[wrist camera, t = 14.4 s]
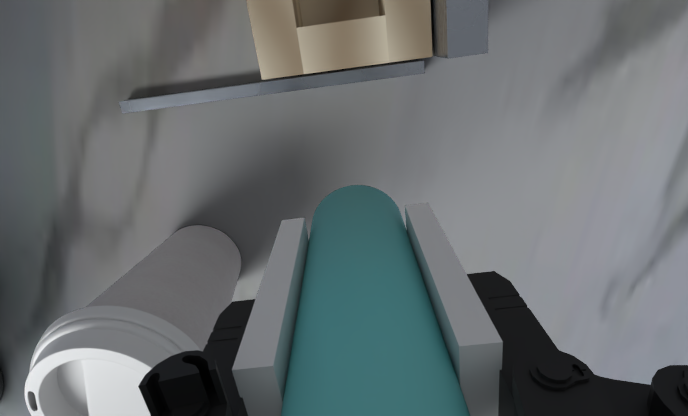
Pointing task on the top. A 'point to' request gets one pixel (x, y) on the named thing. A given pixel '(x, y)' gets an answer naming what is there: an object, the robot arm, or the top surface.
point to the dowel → (366, 319)
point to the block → (337, 34)
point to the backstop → (447, 41)
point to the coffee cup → (134, 328)
